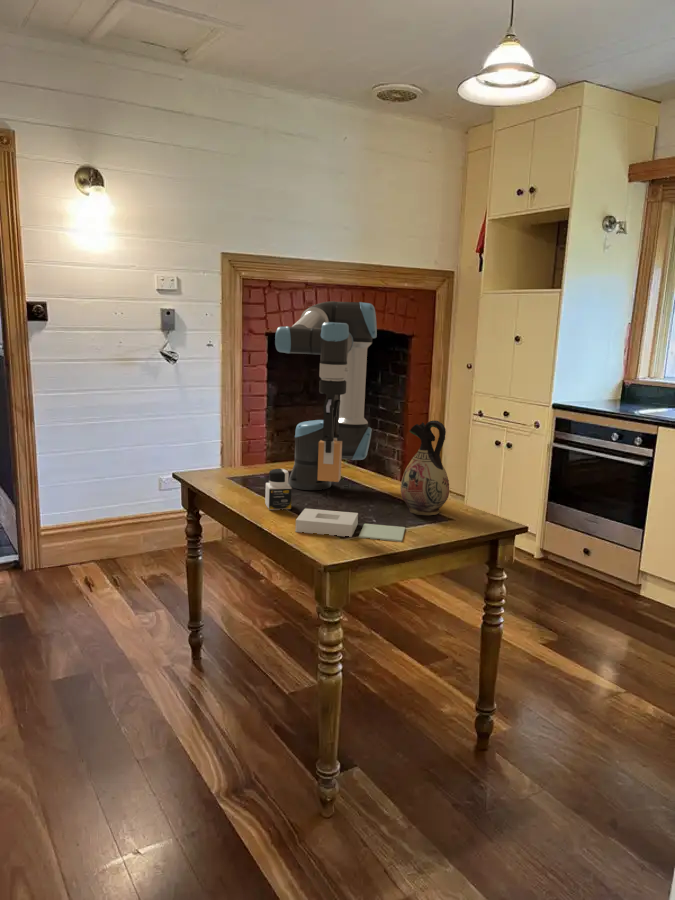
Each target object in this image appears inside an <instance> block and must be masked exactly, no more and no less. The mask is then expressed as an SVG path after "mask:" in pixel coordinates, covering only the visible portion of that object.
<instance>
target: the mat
mask: <svg viewBox="0 0 675 900" xmlns="http://www.w3.org/2000/svg"><path fill="white" fill-rule="evenodd" d="M405 531H406V527H405V526H396V525H384V524H373V523H364V524H363V526H362V529H361V530H360V532H359V535H358V539H366V538H370V539H369V540H377V539H380V540H379V541H389V542H391V541H392V542H398V543H402V542H403V539H404V535H405Z"/></svg>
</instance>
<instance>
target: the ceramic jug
mask: <svg viewBox="0 0 675 900" xmlns="http://www.w3.org/2000/svg"><path fill="white" fill-rule="evenodd" d="M432 428H436V429H437V430H438V435H439V436H438V439H437V443H436V446H435V449H434V448H433V447H434V446H433V443H432V442H435V441H436V436H435V434H434V433H433V431H432ZM408 432H409V433H410V434H412V435H414V436H416V437H417V438H419V440H420V446H419V448H418V451H417V452H416V453H415V454H414V456H413V457H412V458H411V460H410V461H409V463H408V464H407V466H406V468H405V470H404V472H403V473H402V477H401V482H400V495H401V498H402V500H403V501H404V503H405V505H407V508H409V512H410V513H411V514H414V515H417V516H433V515H434V516H435V515H438V514H439V513H440V509H441V508H442V506H443V505H445V503H447V500H448V498H449V495H450V480H449V478H448V477H449V476H448V474H447V471H446V469H445V467H444V465H443V463H442V459H441V458H442V457H441V451H442V449H443V445H444V443H445V440H446V433H447V430H446V426H445V425H444V423H442V422H441V421H439V420H430V421H427V422H426V423H425V422H421V423H420V424H418V423H416V424H414V425H413V426H412V427H411V428H410V429H409V431H408Z"/></svg>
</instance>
